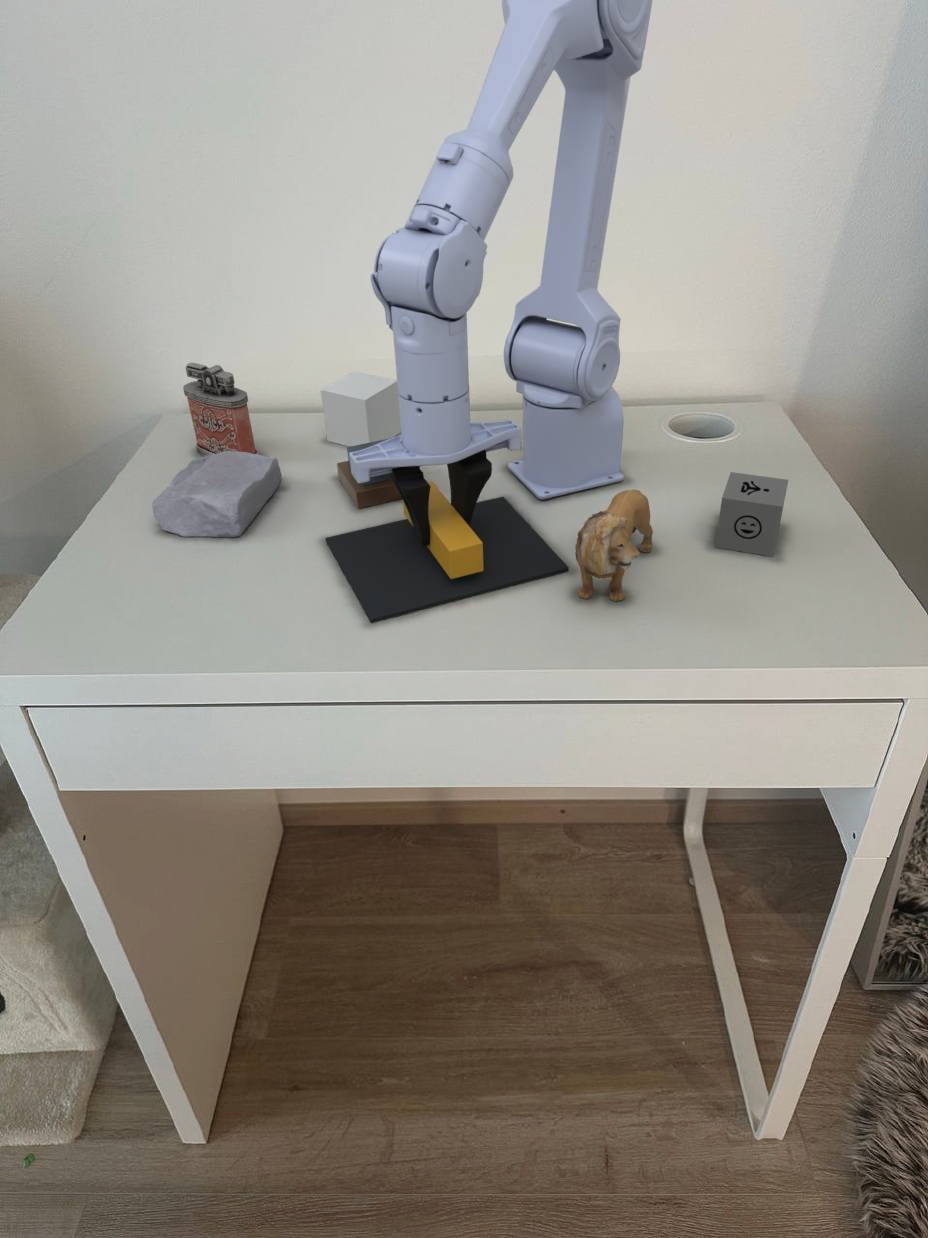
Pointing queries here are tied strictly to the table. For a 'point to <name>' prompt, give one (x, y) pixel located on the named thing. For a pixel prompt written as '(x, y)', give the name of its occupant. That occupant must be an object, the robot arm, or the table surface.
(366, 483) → the brown blue stepped block
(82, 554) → the table surface
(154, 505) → the stone block
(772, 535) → the dice cube
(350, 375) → the white cube
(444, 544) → the bar
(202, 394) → the lighter
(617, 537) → the lion figurine
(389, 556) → the mat
